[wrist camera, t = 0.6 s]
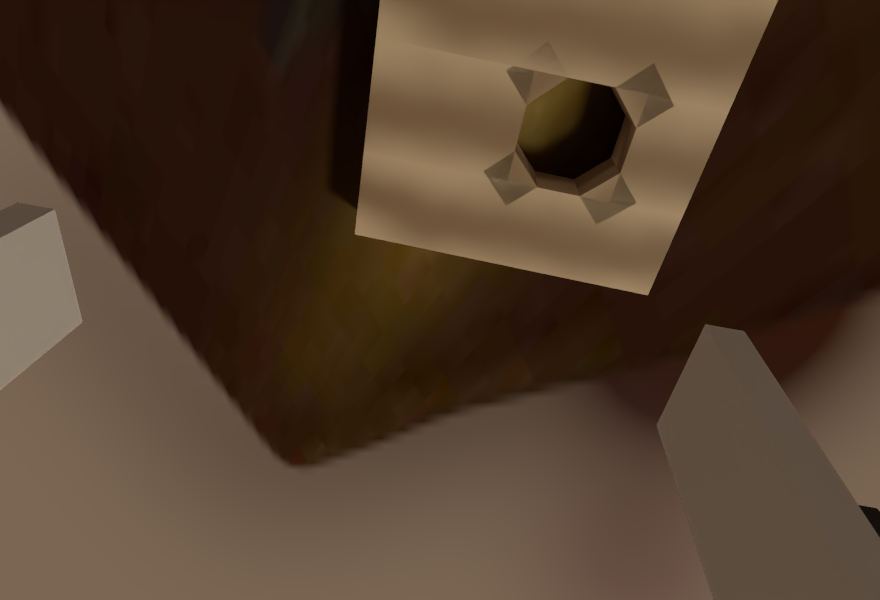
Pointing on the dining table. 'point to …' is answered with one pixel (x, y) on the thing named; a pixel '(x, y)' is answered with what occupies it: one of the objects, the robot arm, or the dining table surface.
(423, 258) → the dining table surface
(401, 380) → the dining table surface
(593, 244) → the jig
